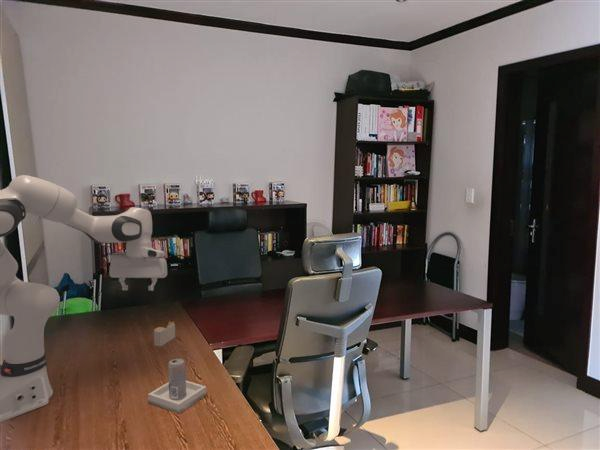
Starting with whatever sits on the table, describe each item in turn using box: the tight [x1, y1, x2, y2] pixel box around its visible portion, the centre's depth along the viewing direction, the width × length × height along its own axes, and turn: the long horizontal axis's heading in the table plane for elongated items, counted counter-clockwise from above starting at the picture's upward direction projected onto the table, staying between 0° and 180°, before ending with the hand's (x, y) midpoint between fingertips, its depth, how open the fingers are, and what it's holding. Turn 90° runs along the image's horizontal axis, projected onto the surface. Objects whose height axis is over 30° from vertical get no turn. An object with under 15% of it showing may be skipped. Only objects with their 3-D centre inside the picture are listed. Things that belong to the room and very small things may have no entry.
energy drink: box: [167, 357, 187, 400], centre depth 150 cm, size 5×5×12 cm
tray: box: [147, 379, 207, 414], centre depth 151 cm, size 13×13×3 cm
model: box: [153, 320, 176, 347], centre depth 198 cm, size 3×11×8 cm, turn 162°
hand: (138, 290), depth 166 cm, fingers open, 8 cm apart
